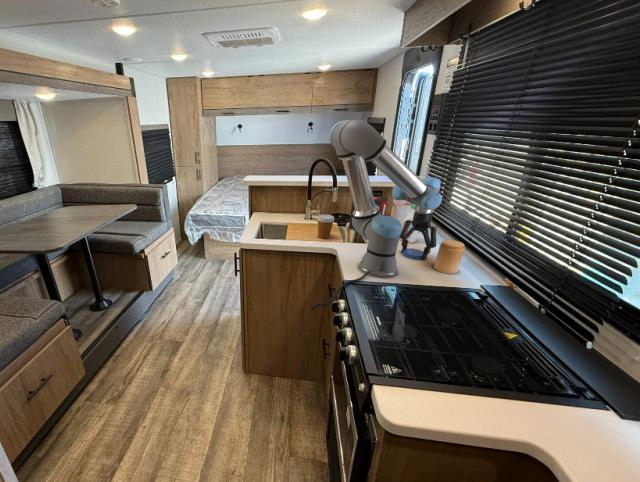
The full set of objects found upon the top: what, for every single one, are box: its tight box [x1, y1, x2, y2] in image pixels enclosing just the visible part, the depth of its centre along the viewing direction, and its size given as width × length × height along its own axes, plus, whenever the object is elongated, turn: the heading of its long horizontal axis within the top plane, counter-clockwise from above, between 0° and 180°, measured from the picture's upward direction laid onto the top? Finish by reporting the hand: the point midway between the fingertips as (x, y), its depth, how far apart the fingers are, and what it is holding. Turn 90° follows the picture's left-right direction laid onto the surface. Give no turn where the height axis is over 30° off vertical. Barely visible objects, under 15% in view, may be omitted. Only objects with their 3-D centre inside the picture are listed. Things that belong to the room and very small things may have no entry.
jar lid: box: [402, 247, 424, 261], centre depth 150 cm, size 10×10×2 cm
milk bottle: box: [399, 203, 419, 244], centre depth 165 cm, size 8×8×20 cm
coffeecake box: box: [390, 198, 412, 232], centre depth 183 cm, size 15×7×20 cm, turn 163°
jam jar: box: [433, 239, 466, 275], centre depth 134 cm, size 9×9×13 cm
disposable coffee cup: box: [316, 213, 335, 240], centre depth 172 cm, size 10×10×12 cm
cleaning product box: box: [348, 195, 389, 231], centre depth 181 cm, size 16×9×20 cm, turn 44°
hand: (413, 256), depth 150 cm, fingers open, 10 cm apart
